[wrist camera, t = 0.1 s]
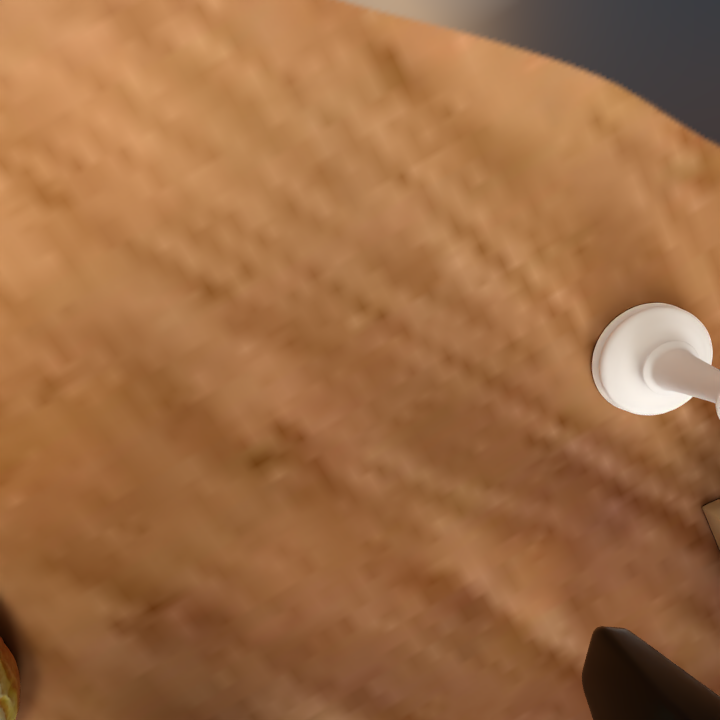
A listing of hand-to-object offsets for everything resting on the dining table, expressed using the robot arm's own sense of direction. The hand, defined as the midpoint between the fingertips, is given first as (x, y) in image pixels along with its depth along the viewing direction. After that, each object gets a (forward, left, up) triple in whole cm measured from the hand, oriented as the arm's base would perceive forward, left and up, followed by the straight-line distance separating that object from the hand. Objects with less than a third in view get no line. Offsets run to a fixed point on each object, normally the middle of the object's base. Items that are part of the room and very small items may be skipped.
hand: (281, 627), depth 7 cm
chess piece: (+2, -14, -15) cm, 20 cm away
